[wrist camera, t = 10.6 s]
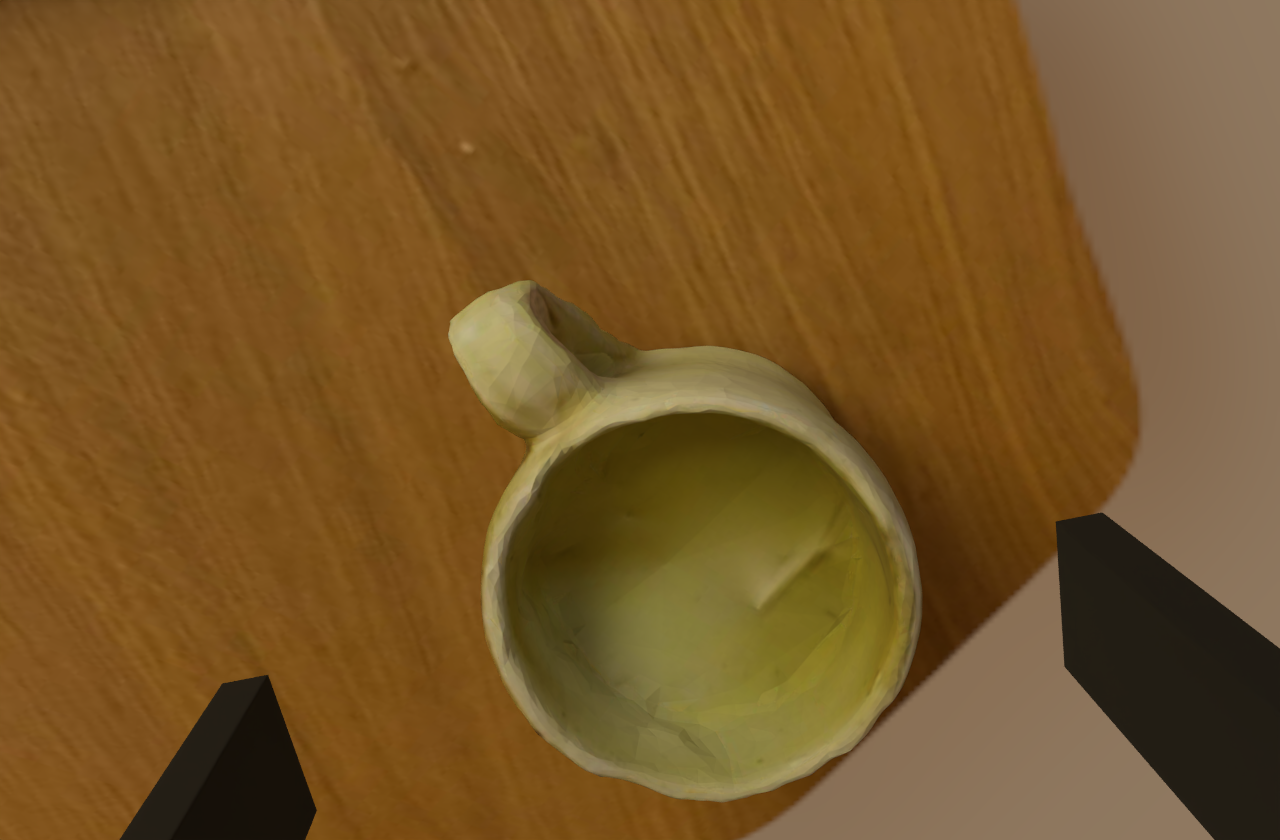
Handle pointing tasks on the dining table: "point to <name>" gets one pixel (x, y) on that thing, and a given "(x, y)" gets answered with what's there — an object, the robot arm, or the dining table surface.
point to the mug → (683, 556)
